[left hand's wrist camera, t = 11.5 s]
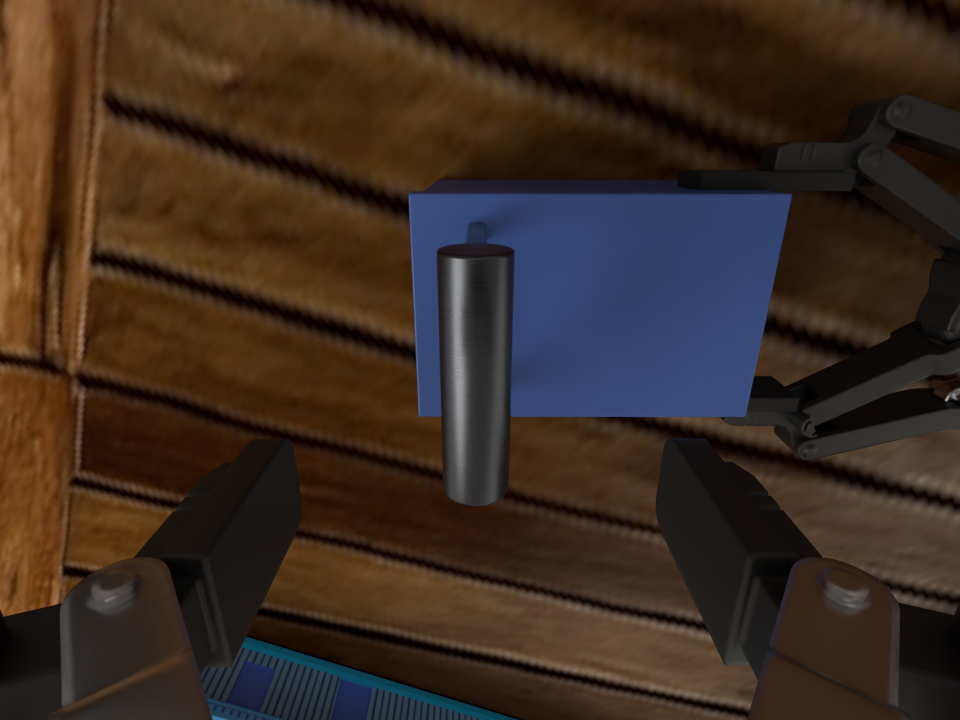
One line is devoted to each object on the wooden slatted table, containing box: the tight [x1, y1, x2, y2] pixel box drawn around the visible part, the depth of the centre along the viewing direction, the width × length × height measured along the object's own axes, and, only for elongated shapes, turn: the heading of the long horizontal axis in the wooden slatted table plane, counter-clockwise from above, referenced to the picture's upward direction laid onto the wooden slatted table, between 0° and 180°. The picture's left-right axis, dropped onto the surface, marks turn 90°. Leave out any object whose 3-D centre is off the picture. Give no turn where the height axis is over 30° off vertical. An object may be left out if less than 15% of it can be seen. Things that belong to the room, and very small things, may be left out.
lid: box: [408, 191, 792, 506], centre depth 19 cm, size 15×10×9 cm, turn 90°
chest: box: [424, 180, 776, 192], centre depth 28 cm, size 15×10×9 cm
